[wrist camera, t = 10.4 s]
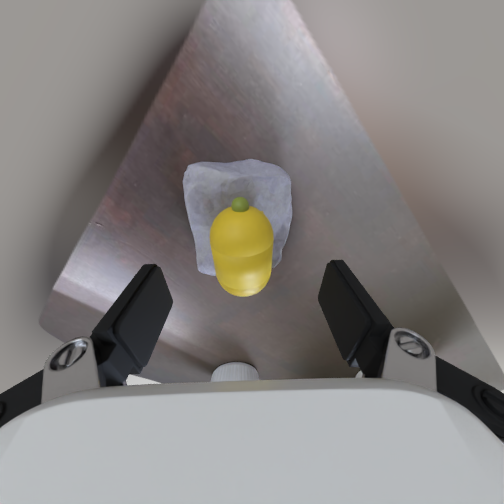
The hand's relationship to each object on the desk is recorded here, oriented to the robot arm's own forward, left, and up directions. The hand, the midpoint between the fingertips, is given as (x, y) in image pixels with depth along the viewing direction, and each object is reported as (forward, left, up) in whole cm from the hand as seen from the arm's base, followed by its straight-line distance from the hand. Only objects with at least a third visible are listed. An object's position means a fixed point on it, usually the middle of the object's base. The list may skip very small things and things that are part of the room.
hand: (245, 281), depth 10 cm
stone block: (+1, 0, -11) cm, 11 cm away
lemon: (+1, 0, -7) cm, 7 cm away
